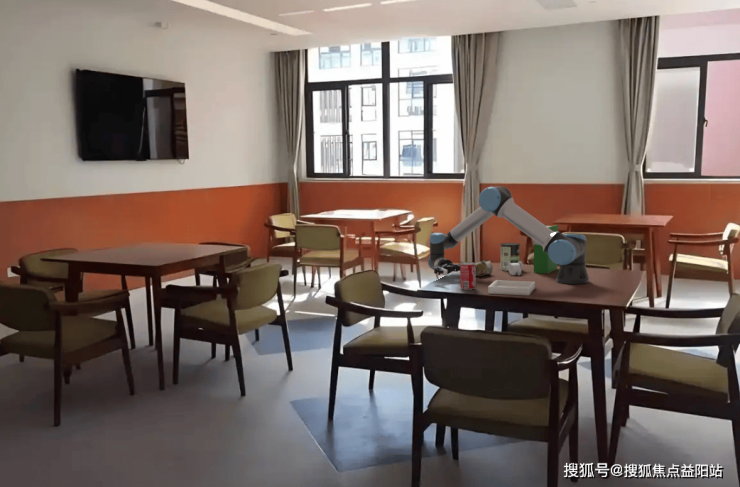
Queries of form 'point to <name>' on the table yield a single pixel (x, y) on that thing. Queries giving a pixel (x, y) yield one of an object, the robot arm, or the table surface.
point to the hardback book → (543, 257)
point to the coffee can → (509, 254)
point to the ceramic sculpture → (483, 268)
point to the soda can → (467, 276)
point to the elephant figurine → (515, 268)
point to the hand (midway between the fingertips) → (460, 272)
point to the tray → (511, 287)
